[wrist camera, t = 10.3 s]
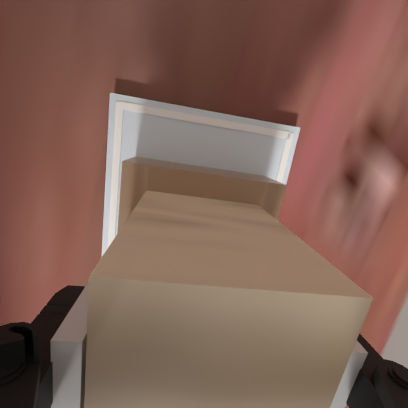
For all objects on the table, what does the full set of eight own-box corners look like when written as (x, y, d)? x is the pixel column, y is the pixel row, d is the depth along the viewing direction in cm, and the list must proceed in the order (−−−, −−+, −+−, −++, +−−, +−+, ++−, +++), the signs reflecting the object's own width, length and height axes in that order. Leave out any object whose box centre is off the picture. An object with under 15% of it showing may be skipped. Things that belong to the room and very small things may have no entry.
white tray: (248, 315, 23) (266, 361, 18) (102, 306, 21) (79, 355, 16) (294, 128, 18) (334, 124, 14) (114, 95, 17) (87, 76, 12)
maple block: (237, 298, 16) (302, 477, 8) (136, 292, 15) (81, 487, 7) (258, 204, 15) (373, 298, 6) (146, 190, 14) (88, 276, 5)
